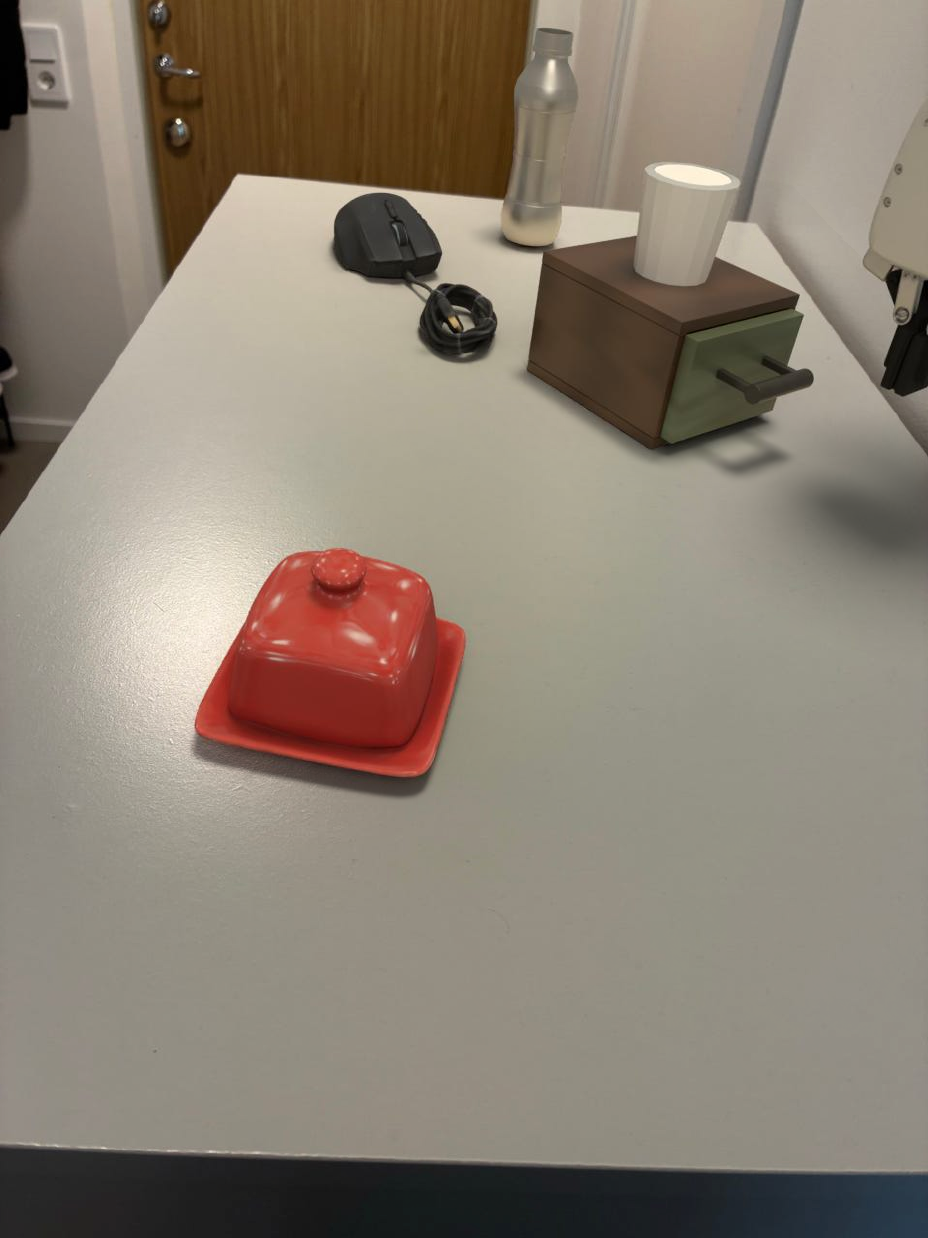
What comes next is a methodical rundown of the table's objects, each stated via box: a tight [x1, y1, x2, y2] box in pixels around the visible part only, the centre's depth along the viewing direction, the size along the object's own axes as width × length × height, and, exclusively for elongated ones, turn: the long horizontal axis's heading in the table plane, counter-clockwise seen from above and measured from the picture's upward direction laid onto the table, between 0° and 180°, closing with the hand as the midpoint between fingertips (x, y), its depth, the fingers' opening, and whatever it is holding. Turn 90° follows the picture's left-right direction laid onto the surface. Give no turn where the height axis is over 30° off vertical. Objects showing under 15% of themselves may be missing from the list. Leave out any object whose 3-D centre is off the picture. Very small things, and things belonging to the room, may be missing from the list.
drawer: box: [660, 309, 815, 445], centre depth 73 cm, size 18×12×8 cm, turn 36°
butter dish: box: [194, 547, 467, 778], centre depth 45 cm, size 12×12×8 cm
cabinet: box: [526, 235, 801, 450], centre depth 75 cm, size 15×13×10 cm
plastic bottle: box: [500, 27, 580, 247], centre depth 98 cm, size 6×7×20 cm
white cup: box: [634, 161, 742, 286], centre depth 70 cm, size 7×7×7 cm
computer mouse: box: [333, 192, 498, 354], centre depth 89 cm, size 10×32×6 cm, turn 24°
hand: (904, 386), depth 61 cm, fingers closed
